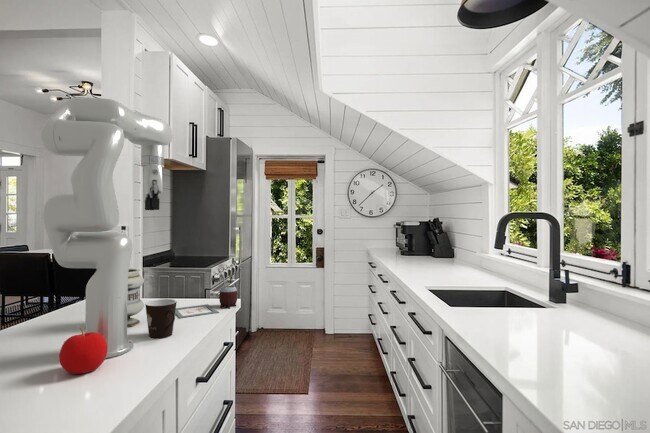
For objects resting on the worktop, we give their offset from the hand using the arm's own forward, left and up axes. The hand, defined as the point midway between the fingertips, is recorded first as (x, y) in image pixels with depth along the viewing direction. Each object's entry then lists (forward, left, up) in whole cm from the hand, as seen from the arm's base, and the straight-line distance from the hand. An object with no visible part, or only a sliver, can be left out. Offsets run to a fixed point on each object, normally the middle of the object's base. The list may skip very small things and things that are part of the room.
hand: (151, 209), depth 127 cm
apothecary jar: (-9, -6, -38) cm, 40 cm away
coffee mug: (-1, -26, -38) cm, 46 cm away
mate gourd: (+28, -2, -38) cm, 47 cm away
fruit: (-20, -41, -38) cm, 60 cm away
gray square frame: (+15, -2, -38) cm, 41 cm away
